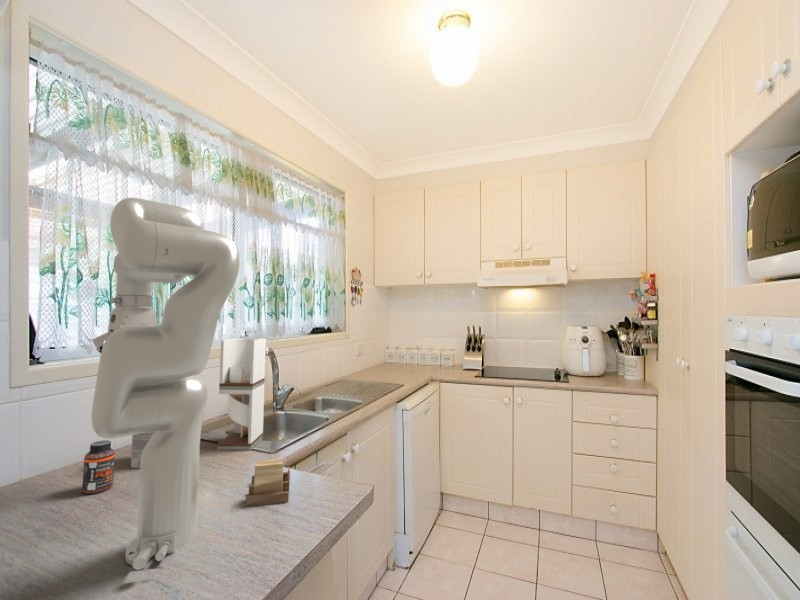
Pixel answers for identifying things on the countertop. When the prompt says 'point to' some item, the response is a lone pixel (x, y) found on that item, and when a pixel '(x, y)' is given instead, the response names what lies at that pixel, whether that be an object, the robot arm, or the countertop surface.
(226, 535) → the countertop surface
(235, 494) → the countertop surface
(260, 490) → the block
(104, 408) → the robot arm
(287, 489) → the rack
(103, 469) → the supplement bottle
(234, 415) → the display case
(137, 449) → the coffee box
